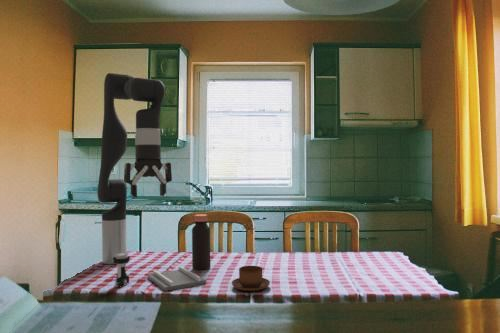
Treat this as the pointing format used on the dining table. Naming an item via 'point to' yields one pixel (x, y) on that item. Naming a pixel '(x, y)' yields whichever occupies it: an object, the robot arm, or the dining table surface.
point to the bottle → (201, 243)
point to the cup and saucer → (250, 279)
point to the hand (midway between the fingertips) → (148, 196)
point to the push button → (121, 269)
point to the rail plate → (176, 279)
